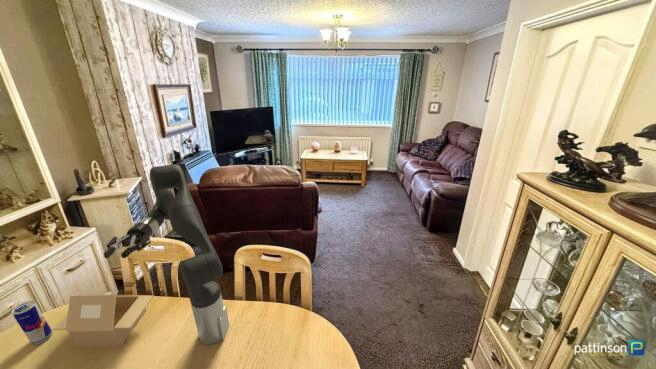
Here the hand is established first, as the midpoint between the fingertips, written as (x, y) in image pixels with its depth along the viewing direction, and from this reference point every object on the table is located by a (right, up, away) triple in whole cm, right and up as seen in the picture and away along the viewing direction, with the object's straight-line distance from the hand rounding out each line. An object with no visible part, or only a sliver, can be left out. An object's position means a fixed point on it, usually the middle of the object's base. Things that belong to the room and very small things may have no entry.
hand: (114, 256), depth 90 cm
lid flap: (0, -16, -9) cm, 18 cm away
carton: (0, -26, 0) cm, 26 cm away
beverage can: (-21, -27, -4) cm, 35 cm away
